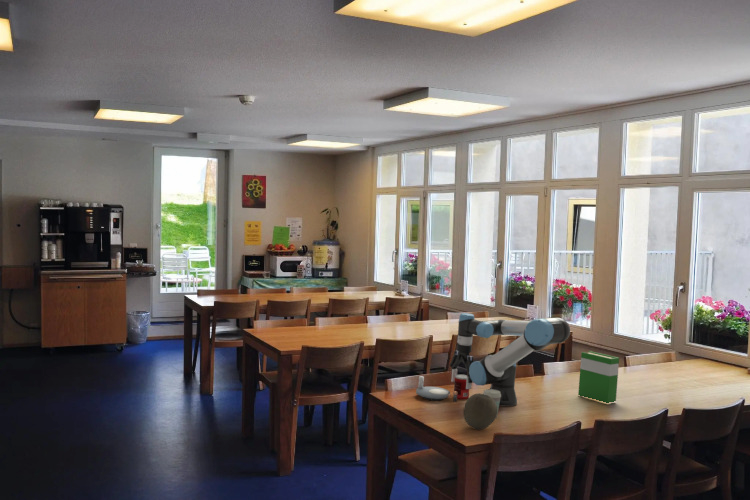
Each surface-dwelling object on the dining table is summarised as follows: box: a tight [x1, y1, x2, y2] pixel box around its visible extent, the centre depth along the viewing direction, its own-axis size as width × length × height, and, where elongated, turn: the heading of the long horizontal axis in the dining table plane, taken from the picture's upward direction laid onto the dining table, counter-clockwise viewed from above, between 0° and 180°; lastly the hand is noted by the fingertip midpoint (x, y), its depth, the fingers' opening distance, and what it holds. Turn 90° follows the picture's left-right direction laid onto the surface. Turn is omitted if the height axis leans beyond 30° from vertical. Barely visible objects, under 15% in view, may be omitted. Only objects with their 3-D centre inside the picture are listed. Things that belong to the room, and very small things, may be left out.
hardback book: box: [577, 350, 620, 403], centre depth 340 cm, size 18×7×24 cm, turn 37°
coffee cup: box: [482, 388, 501, 419], centre depth 298 cm, size 8×8×12 cm
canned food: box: [453, 374, 470, 401], centre depth 328 cm, size 8×8×11 cm
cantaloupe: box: [462, 393, 498, 431], centre depth 280 cm, size 14×14×15 cm
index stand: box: [422, 390, 458, 403], centre depth 323 cm, size 17×10×5 cm, turn 46°
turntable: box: [415, 375, 452, 400], centre depth 325 cm, size 18×17×8 cm
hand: (461, 385), depth 329 cm, fingers open, 13 cm apart
